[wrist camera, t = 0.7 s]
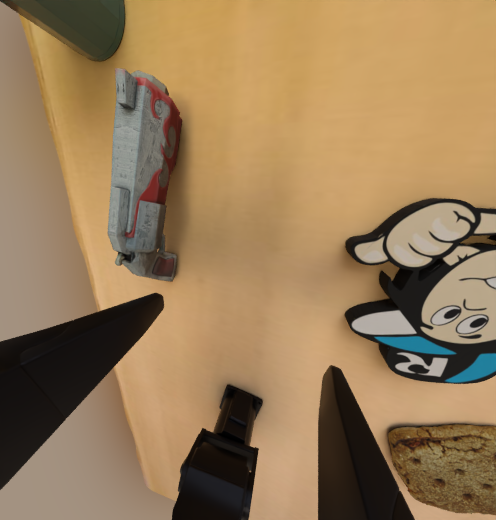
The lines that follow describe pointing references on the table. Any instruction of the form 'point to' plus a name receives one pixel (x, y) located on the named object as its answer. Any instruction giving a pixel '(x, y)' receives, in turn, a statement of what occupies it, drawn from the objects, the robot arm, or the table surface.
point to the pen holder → (78, 23)
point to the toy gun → (142, 173)
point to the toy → (432, 292)
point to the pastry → (448, 465)
